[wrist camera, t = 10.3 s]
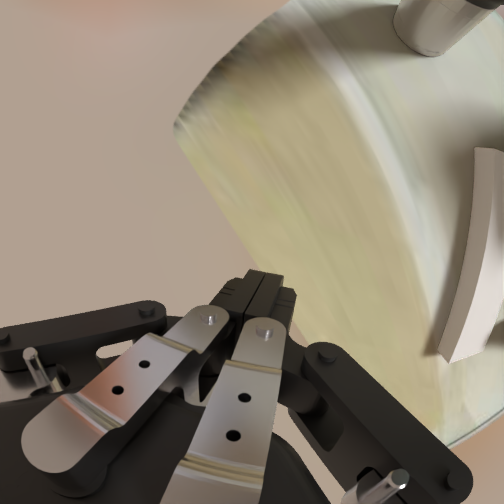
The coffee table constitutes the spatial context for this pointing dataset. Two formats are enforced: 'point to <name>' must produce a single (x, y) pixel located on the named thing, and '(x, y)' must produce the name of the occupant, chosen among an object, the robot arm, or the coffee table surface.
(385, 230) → the coffee table surface
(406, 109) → the coffee table surface
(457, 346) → the decorative molding
